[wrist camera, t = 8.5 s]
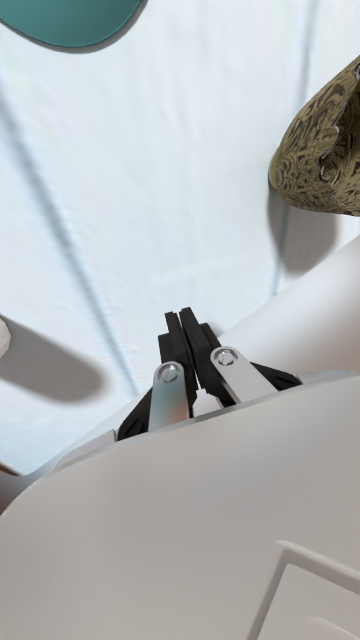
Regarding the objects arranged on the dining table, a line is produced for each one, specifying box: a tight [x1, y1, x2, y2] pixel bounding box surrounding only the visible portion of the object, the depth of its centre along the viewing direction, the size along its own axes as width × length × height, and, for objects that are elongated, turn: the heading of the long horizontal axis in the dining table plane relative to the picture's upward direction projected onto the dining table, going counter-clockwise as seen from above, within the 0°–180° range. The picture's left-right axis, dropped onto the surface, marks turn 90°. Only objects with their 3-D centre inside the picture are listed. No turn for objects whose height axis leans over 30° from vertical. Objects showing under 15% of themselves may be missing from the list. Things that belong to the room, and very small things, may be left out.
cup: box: [269, 55, 360, 216], centre depth 12 cm, size 8×7×8 cm
